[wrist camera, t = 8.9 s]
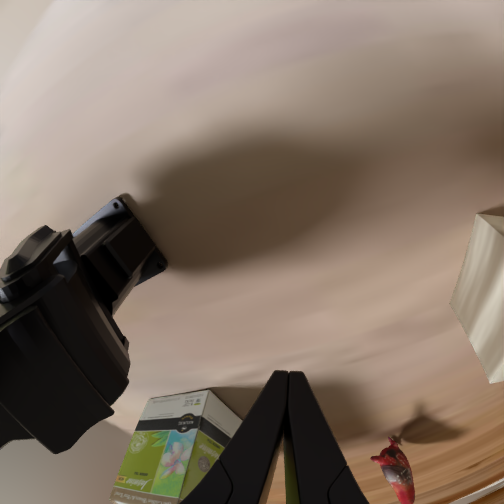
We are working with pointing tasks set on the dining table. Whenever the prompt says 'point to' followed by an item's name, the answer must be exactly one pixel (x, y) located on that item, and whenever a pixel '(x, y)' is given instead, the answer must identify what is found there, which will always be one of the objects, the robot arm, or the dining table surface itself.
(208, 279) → the dining table surface
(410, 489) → the decorative bird figurine
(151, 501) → the tea box
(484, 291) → the block
